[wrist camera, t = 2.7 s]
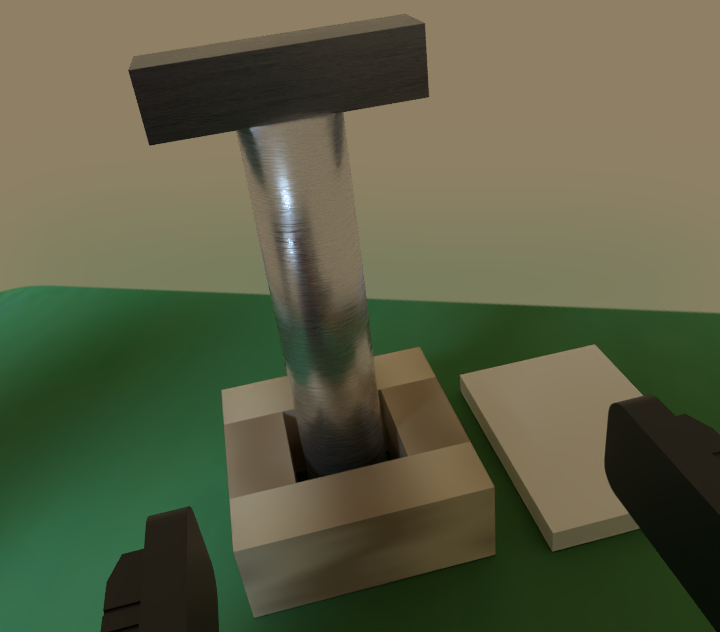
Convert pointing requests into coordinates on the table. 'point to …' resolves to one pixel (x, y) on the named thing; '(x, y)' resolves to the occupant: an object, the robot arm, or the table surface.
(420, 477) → the slot block
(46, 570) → the table surface
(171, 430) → the table surface
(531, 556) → the table surface
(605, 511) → the beige flat plate
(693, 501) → the robot arm
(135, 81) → the t key
